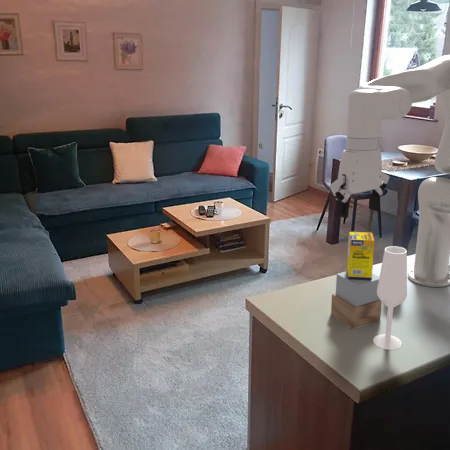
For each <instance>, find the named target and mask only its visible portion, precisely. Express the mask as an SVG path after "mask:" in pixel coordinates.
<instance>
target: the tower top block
mask: <svg viewBox="0 0 450 450" xmlns="http://www.w3.org/2000/svg"><path fill="white" fill-rule="evenodd" d="M379 277H380V276H378V275H376V274H374V273H372V280H356V279H348V275H347V270H346V271H343V272H338V273H336V278H335V279H336V280H335V281H336V283H335V293H336V295H338V296H339V297H341V298H342V299H344V300H346V301H347V302H349V303H350V304H352V305H354V306H355V307H358V306H361V305H364V304H367V303H371V302H374V301H377V300H380V299H379V297H378V295H377V288H378V282H379Z"/></svg>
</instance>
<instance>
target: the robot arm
mask: <svg viewBox="0 0 450 450" xmlns="http://www.w3.org/2000/svg"><path fill="white" fill-rule="evenodd" d="M436 96H439V99H440V102H441V105H442V107H443V111H444V115H445V124H444V129H443V132H442V135H441V138H440V141H439V145H438V147H437V151H436V155H435V157H434V162H433V163H434V168H435V170H437V171H438V172H440V173H443V174H445V175H446V174H447V175H450V54H447V55H442V56H440V57H436V58H435V59H433V60H431V61H429V62H426V63H424V64H423V65H420V66H418V67H415V68H414V69H413V68H412V69H408V70H405V71H400V72H397V73H393V74H389V75H384V76H381V77H378V78H375V79H373V80H371V81H369V82H365V83H363V84H362V85H360V86H359V87H357V89H355V90H352V91H351V92H349V94H348V99H347V120H346V137H345V138H346V143H345V149H344V150H343V151H342V153H341V158H340V161H339V168H338V173H337V174H338V176H337V179H336V180H334V181H333V182H332V183H331V184H329V188H330V191H331V193H332V194H331V195H332V196H333V197H334V198H335V200H336V201H337V216H339V217H341V218H344V219H348V218H349V213H350V212H349V210H350V208H349V207H350V203H349V201H348V200H349V198H350V197H351V196H352V194H353V195H354V194H358V193H364V192H369V191H370V193H369V195H368V197H369V198H368V200H369V201H368V209H369V210H372V211H374V212H379V211H380V208H381V196H383V194H384V192H383V191H385V189H386V188H387V184H388V182H389V179H390V175H388V174H386V173H384V172H382V171H383V165H382V163H383V162H382V161H383V160H382V153H381V152H382V151H381V148H380V143H381V142H382V140H383V139H382V137H381V126H382V125H381V124H382V120H387V121H388V120H390V121H395V120H400V119H402V118H404V117H405V116H406V115H407V114H409V112H410V110H411V108H412V106H413V104H415V103H416V104H417V103H422V102H427V101H429V100H430V99H432V98H435V97H436ZM417 201H418V207H419V208H418V209H419V211H418V212H419V215H418V226H417V227H418V228H417V237H416V238H417V239H416V246H415V247H416V248H415V257H414V265H413V268H411V269H409V270H408V271H407V278H408V279H409V280H410V281H412V282H413V283H415V284H418V285H421V286H426V287H430V288H431V287H432V288H442V287H447V286H449V285H450V178H446V177H441V176H439V177H438V176H431V177H428V178H426V179H424V180H423V181H422V182H421V183H420V185H419V187H418V192H417Z"/></svg>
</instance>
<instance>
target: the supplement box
mask: <svg viewBox="0 0 450 450" xmlns="http://www.w3.org/2000/svg"><path fill="white" fill-rule="evenodd" d="M347 242H348V243H347V260H346V271H347V275H348V279H356V280H372V274H373V268H374V267H373V264H374V252H375V237H374V234H373V232H367V231H366V232H363V231H362V232H361V231H349V232H348V241H347Z"/></svg>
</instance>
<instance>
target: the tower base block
mask: <svg viewBox="0 0 450 450" xmlns="http://www.w3.org/2000/svg"><path fill="white" fill-rule="evenodd" d="M382 303H383V302H382V301H381V300H377V301H374V302H371V303H367V304H364V305H361V306H358V307H355V306H354V305H352V304H350V303H349V302H347V301H346V300H344V299H342V298H341V297H339V296H338V295H336V292H335V293H332V294H331V305H330V306H331V308H330V309H331V310H330V314H331V315H332V316H333V317H335V318H336V319H338V320H339V321H341V322H342V323H343V324H345V325H346V326H348V327H349V328H351V329H352V330H355V329H358V328H361V327H364V326H368V325H370V324H374V323H377V322H380V321H381V316H382ZM379 320H380V321H379ZM376 321H377V322H376Z"/></svg>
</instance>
